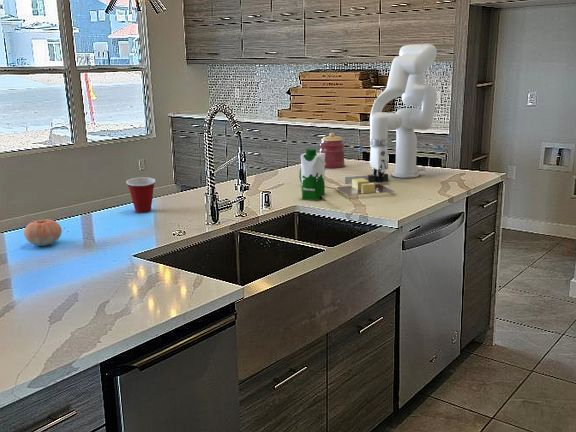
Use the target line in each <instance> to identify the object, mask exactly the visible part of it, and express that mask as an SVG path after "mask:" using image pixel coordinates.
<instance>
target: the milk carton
mask: <svg viewBox="0 0 576 432" xmlns="http://www.w3.org/2000/svg"><path fill="white" fill-rule="evenodd" d="M300 168H301V175H302V183H301V200H307V201H308V200H309V201H320V200H321V199H323V198H324V197H323V196H324V195H325V194H326V193H325V191H326V189H325V187H326V186H325V185H326V180H325V179H326V177H325V175H326V172H325V171H326V170H325V169H326V168H325V153H320V152H317V149H316V148H307V149H305V152H304V153H302V154H300Z"/></svg>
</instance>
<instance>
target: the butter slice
mask: <svg viewBox="0 0 576 432" xmlns="http://www.w3.org/2000/svg"><path fill="white" fill-rule="evenodd" d="M362 193H372V194H376V193H375V182H370V183H369V184H362Z"/></svg>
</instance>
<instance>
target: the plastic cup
mask: <svg viewBox="0 0 576 432" xmlns="http://www.w3.org/2000/svg"><path fill="white" fill-rule="evenodd" d="M156 182H157V181H156V179H155V178H153V177H144V176H141V177H132V178H130V179H127V180H126V181H125V183H126V185H127V187H128V190H129V193H130V197H131V201H132V205H133V208H134V211H135V213H138V214H145V213H149V212H152V206H153V205H152V204H153V196H154V188H155V184H156Z"/></svg>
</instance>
